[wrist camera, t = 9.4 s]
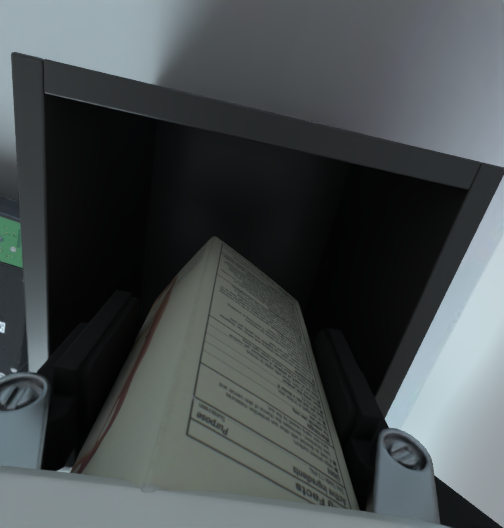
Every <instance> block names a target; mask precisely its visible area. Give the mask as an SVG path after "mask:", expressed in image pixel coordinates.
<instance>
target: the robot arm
mask: <svg viewBox="0 0 504 528" xmlns="http://www.w3.org/2000/svg"><path fill="white" fill-rule="evenodd" d="M138 305H139V299H138V298H135V297H134V294H133V293H131V292H125V291H120V290H116V291H115V292H114V293H113V295H112V296H111V297H110V298H109V299H108V301H107V302H106V303H105V304H104V305H103V307H102V308H101V309H100V310H99V311H98V313H97V314H96V315H95V316H94V317H93V319H92V320H91V321H90V322H89V323H80V324H79V325H78V326H77V327H76V328H75V329H74V330H73V331H72V332H71V333H70V335H69V336H68V337H67V338H66V339H65V340H64V341H63V343H62V344H61V345H60V346H59V347H58V348H57V349H56V351H55V352H54V353H53V354H52V355H51V356H50V357H49V358H48V360H47V361H46V362H45V363H44V364H43V365H42V366H41V368H40V369H39V370H38V371H37V372H36V373H35V372H19V373H14V374H10V375H7V376H4V377H2V378H0V528H503V527H501V526H500V525H499V524H497V523H496V522H494V521H493V520H492V519H491V518H489V517H488V516H487V515H486V514H484V513H483V512H482V511H480V510H479V509H478V508H476V507H475V506H474V505H472V504H471V503H470V502H469V501H467V500H466V499H465V498H463V497H462V496H461V495H459V494H458V493H456V492H455V491H454V490H453V489H451V488H450V487H449V486H447V485H446V484H445V483H444V482H442V481H441V480H439V479H438V478H437V477H436V476H434V470H433V463H432V460H431V457H430V455H429V453H428V452H427V450H426V449H425V448H424V446H423V445H422V444H421V443H420V442H419V441H418V440H416V439H415V438H414V437H413V436H411V435H410V434H408V433H406V432H404V431H401V430H399V429H395V428H389V427H388V425H387V423H386V421H385V419H384V417H383V415H382V412H381V410H380V408H379V406H378V404H377V402H376V400H375V398H374V395H373V393H372V391H371V389H370V387H369V385H368V383H367V381H366V378H365V376H364V374H363V373H362V371H361V370H360V369H359V367H358V365H357V363H356V361H355V359H354V356H353V354H352V352H351V350H350V348H349V346H348V343H347V341H346V339H345V337H344V335H343V333H342V331H341V330H336V329H330V328H325V329H324V331H319V332H318V335H317V338H316V341H315V343H314V346H313V349H312V350H313V354H314V357H315V360H316V364H317V367H318V371H319V374H320V377H321V381H322V384H323V387H324V391H325V394H326V397H327V401H328V404H329V407H330V411H331V414H332V418H333V421H334V425H335V428H336V432H337V435H338V438H339V441H340V445H341V448H342V452H343V455H344V459H345V462H346V465H347V469H348V472H349V476H350V479H351V482H352V486H353V489H354V493H355V496H356V499H357V502H358V505H359V508H360V511H358V510H351V509H344V508H337V507H329V506H322V505H315V504H307V503H300V502H293V501H286V500H278V499H271V498H263V497H256V496H248V495H241V494H233V493H226V492H218V491H167V490H157V491H155V492H152V493H147V492H142V491H141V488H139V487H137V486H135V485H134V484H133V483H131V482H129V481H127V480H124V479H116V478H108V477H100V476H92V475H84V474H76V473H68V472H59V471H58V470H60V469H61V468H63V467H71V468H72V467H73V465H74V463H75V461H76V459H77V457H78V455H79V453H80V451H81V449H82V447H83V445H84V443H85V441H86V439H87V437H88V435H89V433H90V431H91V429H92V427H93V425H94V423H95V421H96V419H97V417H98V415H99V413H100V411H101V409H102V407H103V405H104V403H105V401H106V399H107V397H108V395H109V393H110V391H111V389H112V387H113V385H114V383H115V380H116V378H117V376H118V374H119V372H120V370H121V368H122V366H123V364H124V362H125V361H126V359H127V357H128V355H129V353H130V350H131V348H132V346H133V344H134V342H135V337H136V326H137V315H138Z"/></svg>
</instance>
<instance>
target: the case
mask: <svg viewBox="0 0 504 528" xmlns="http://www.w3.org/2000/svg"><path fill="white" fill-rule="evenodd" d="M11 61H12V79H13V98H14V116H15V135H16V153H17V171H18V190H19V208H20V227H21V245H22V263H23V282H24V300H25V318H26V337H27V355H28V372H35V373H36V372H37V371H38V370H39V369H40V368H41V366H42V365H43V364H44V363H45V362H46V361H47V360H48V358H49V357H50V356H51V355H52V354H53V353H54V352H55V351H56V349H57V348H58V347H59V346H60V345H61V344H62V343H63V341H64V340H65V339H66V338H67V337H68V336H69V335H70V333H71V332H72V331H73V330H74V329H75V328H76V327H77V326H78V325H79V324H80V323H89V322H90V321H91V320H92V319H93V317H94V316H95V315H96V314H97V313H98V311H99V310H100V309H101V308H102V307H103V305H104V304H105V303H106V302H107V301H108V299H109V298H110V297H111V296H112V295H113V293H114V292H115V291H116V290H120V291H125V292H131V293H133V294H134V297H135V298H138V299H139V305H138V315H137V326H136V337H135V340H136V338H137V336H138V334H139V332H140V330H141V328H142V326H143V324H144V322H145V320H146V318H147V316H148V314H149V312H150V310H151V308H152V306H153V304H154V302H155V300H156V299H157V298H158V296H159V295H160V294H161V293H162V292H163V290H164V289H165V288H166V287H167V286H168V284H169V283H170V282H171V281H172V280H173V278H174V277H175V276H176V275H177V274H178V273H179V272H180V271H181V269H182V268H183V267H184V266H185V265H186V264H187V263H188V262H189V261H190V260H191V259H192V258H193V256H194V255H195V254H196V253H197V252H198V251H199V250H200V249H201V248H202V247H203V246H204V245H205V244H206V243H207V242H208V241H209V240H210V239H211V238H212V237H214V236H215V237H217V238H219V239H220V240H221V241H223V242H224V243H225V244H227V245H228V246H229V247H231V248H232V249H233V250H235V251H236V252H237V253H239V254H240V255H241V256H243V257H244V258H245V259H246V260H248V261H249V262H250V263H252V264H253V265H254V266H255V267H257V268H258V269H259V270H260V271H262V272H263V273H264V274H265V275H267V276H268V277H269V278H270V279H272V280H273V281H274V282H275V283H276V284H278V285H279V286H280V287H281V288H283V289H284V290H285V291H286V292H287V293H288V294H290V295H291V296H292V297H293V298H294V299H296V300H297V301H298V303H299V306H300V309H301V312H302V316H303V319H304V323H305V326H306V329H307V333H308V336H309V340H310V343H311V347H312V349H313V346H314V343H315V341H316V338H317V335H318V332H319V331H324V329H325V328H330V329H336V330H341V331H342V333H343V335H344V337H345V339H346V341H347V343H348V346H349V348H350V350H351V352H352V354H353V356H354V359H355V361H356V363H357V365H358V367H359V369H360V370H361V371H362V373H363V374H364V376H365V378H366V381H367V383H368V385H369V387H370V389H371V391H372V393H373V395H374V398H375V400H376V402H377V404H378V406H379V408H380V410H381V412H382V415H383V417H384V419H385V417H386V415H387V413H388V411H389V409H390V407H391V405H392V403H393V401H394V399H395V396H396V394H397V392H398V390H399V388H400V386H401V384H402V382H403V380H404V378H405V376H406V374H407V372H408V370H409V368H410V366H411V364H412V362H413V360H414V358H415V356H416V353H417V351H418V349H419V347H420V345H421V343H422V341H423V339H424V337H425V335H426V333H427V331H428V329H429V327H430V325H431V323H432V321H433V319H434V317H435V315H436V313H437V310H438V308H439V306H440V304H441V302H442V300H443V298H444V296H445V294H446V292H447V290H448V288H449V286H450V284H451V282H452V280H453V278H454V276H455V274H456V272H457V270H458V267H459V265H460V263H461V261H462V259H463V257H464V255H465V253H466V251H467V249H468V247H469V245H470V243H471V241H472V239H473V237H474V235H475V233H476V231H477V229H478V226H479V224H480V222H481V220H482V218H483V216H484V214H485V212H486V210H487V208H488V206H489V204H490V202H491V200H492V198H493V196H494V194H495V192H496V190H497V188H498V186H499V183H500V181H501V179H502V177H503V175H504V167H499V166H495V165H491V164H487V163H482V162H478V161H474V160H470V159H466V158H461V157H457V156H453V155H449V154H445V153H440V152H436V151H432V150H428V149H423V148H419V147H415V146H411V145H406V144H402V143H398V142H394V141H390V140H385V139H381V138H377V137H373V136H368V135H364V134H360V133H356V132H351V131H347V130H343V129H339V128H335V127H330V126H326V125H322V124H318V123H313V122H309V121H305V120H301V119H297V118H292V117H288V116H284V115H280V114H275V113H271V112H267V111H263V110H258V109H254V108H250V107H246V106H242V105H237V104H233V103H229V102H225V101H220V100H216V99H212V98H208V97H203V96H199V95H195V94H191V93H187V92H182V91H178V90H174V89H170V88H165V87H161V86H157V85H153V84H148V83H144V82H140V81H136V80H132V79H127V78H123V77H119V76H115V75H110V74H106V73H102V72H98V71H94V70H89V69H85V68H81V67H77V66H72V65H68V64H64V63H60V62H55V61H51V60H47V59H42V58H38V57H34V56H30V55H25V54H21V53H17V52H13V53H12V54H11ZM71 469H72V468H71V467H63V468H61V469H60V470H58V471H59V472H68V473H70V471H71Z"/></svg>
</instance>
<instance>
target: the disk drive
mask: <svg viewBox="0 0 504 528" xmlns="http://www.w3.org/2000/svg"><path fill="white" fill-rule="evenodd" d="M19 372H28V355H27V337H26V318H25V300H24V282H23V263H22V245H21V227H20V208H19V202H17V201H15V200H12V199H9V198H6V197H3V196H0V378H2V377H4V376H7V375H10V374H14V373H19Z"/></svg>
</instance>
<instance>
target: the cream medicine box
mask: <svg viewBox="0 0 504 528" xmlns="http://www.w3.org/2000/svg"><path fill="white" fill-rule="evenodd" d="M70 473H76V474H84V475H92V476H100V477H108V478H116V479H124V480H127V481H129V482H131V483H133V484H134V485H135V486H137V487H139V488H141V491H142V492H147V493H152V492H155V491H157V490H167V491H218V492H226V493H233V494H241V495H248V496H256V497H263V498H271V499H278V500H286V501H293V502H300V503H307V504H315V505H322V506H329V507H337V508H344V509H351V510H358V511H360V508H359V505H358V502H357V499H356V496H355V493H354V489H353V486H352V482H351V479H350V476H349V472H348V469H347V465H346V462H345V459H344V455H343V452H342V448H341V445H340V441H339V438H338V435H337V432H336V428H335V425H334V421H333V418H332V414H331V411H330V407H329V404H328V401H327V397H326V394H325V391H324V387H323V384H322V381H321V377H320V374H319V371H318V367H317V364H316V360H315V357H314V354H313V350H312V347H311V343H310V340H309V336H308V333H307V329H306V326H305V323H304V319H303V316H302V312H301V309H300V306H299V303H298V301H297V300H296V299H294V298H293V297H292V296H291V295H290V294H288V293H287V292H286V291H285V290H284V289H283V288H281V287H280V286H279V285H278V284H276V283H275V282H274V281H273V280H272V279H270V278H269V277H268V276H267V275H265V274H264V273H263V272H262V271H260V270H259V269H258V268H257V267H255V266H254V265H253V264H252V263H250V262H249V261H248V260H246V259H245V258H244V257H243V256H241V255H240V254H239V253H237V252H236V251H235V250H233V249H232V248H231V247H229V246H228V245H227V244H225V243H224V242H223V241H221V240H220V239H219V238H217V237H215V236H214V237H212V238H211V239H210V240H209V241H208V242H207V243H206V244H205V245H204V246H203V247H202V248H201V249H200V250H199V251H198V252H197V253H196V254H195V255H194V256H193V258H192V259H191V260H190V261H189V262H188V263H187V264H186V265H185V266H184V267H183V268H182V269H181V271H180V272H179V273H178V274H177V275H176V276H175V277H174V278H173V280H172V281H171V282H170V283H169V284H168V286H167V287H166V288H165V289H164V290H163V292H162V293H161V294H160V295H159V296H158V298H157V299H156V300H155V302H154V304H153V306H152V308H151V310H150V312H149V314H148V316H147V318H146V320H145V322H144V324H143V326H142V328H141V330H140V332H139V334H138V336H137V338H136V340H135V342H134V344H133V346H132V348H131V350H130V353H129V355H128V357H127V359H126V361H125V362H124V364H123V366H122V368H121V370H120V372H119V374H118V376H117V378H116V380H115V383H114V385H113V387H112V389H111V391H110V393H109V395H108V397H107V399H106V401H105V403H104V405H103V407H102V409H101V411H100V413H99V415H98V417H97V419H96V421H95V423H94V425H93V427H92V429H91V431H90V433H89V435H88V437H87V439H86V441H85V443H84V445H83V447H82V449H81V451H80V453H79V455H78V457H77V459H76V461H75V463H74V465H73V467H72V469H71V471H70Z"/></svg>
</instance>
